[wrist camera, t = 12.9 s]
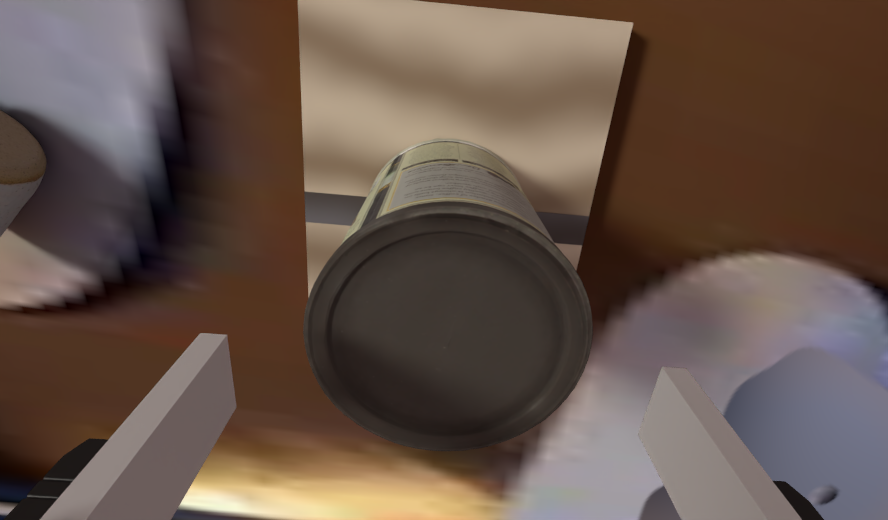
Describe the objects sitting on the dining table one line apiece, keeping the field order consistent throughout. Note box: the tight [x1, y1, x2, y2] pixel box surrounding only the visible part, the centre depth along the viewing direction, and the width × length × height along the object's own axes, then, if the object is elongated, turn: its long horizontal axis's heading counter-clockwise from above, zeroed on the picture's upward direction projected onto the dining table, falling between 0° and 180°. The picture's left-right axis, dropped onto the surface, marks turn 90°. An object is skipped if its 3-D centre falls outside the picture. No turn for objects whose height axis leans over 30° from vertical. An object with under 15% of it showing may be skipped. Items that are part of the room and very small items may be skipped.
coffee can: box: [303, 138, 593, 451], centre depth 23 cm, size 10×10×14 cm
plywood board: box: [298, 0, 633, 295], centre depth 29 cm, size 20×18×2 cm
